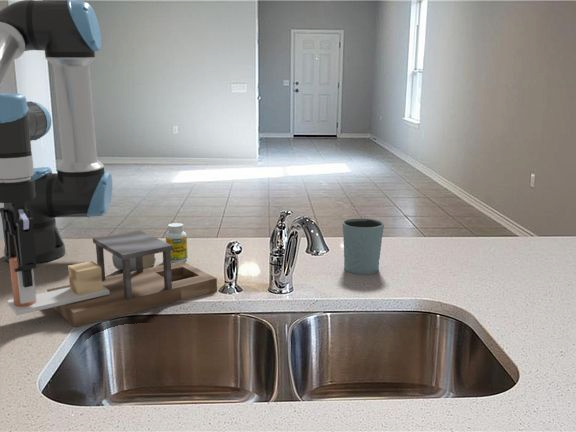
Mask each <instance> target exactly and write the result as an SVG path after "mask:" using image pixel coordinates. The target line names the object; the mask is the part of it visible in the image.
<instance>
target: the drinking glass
mask: <svg viewBox="0 0 576 432" xmlns="http://www.w3.org/2000/svg"><path fill="white" fill-rule="evenodd" d="M384 228H385V224H384V222H383V221H381V220H377V219H374V218H373V219H372V218H359V217H358V218H348V219H345V220H343V221H342V235H343V237H342V239H343V241H342V242H343V243H342V244H343V258H344V259H343V260H344V261H343V266H344V267H343V268H344V270H345V271H346V272H347V273H350V274H355V275H370V274H372V275H373V274H375V273H377V272H378V271H379V267H380V258H381V249H382V238H383V233H384Z"/></svg>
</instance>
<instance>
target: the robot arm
mask: <svg viewBox="0 0 576 432" xmlns="http://www.w3.org/2000/svg"><path fill="white" fill-rule="evenodd" d="M101 48H102V35H101V29H100V25H99V21H98V17H97V15H96V13H95V10H94V9H93V7H92V5H90V4H89V2H86V1H82V0H19V1H16V2H13V3H11V4H8V5H7V6H5V7H3V8H2V9H0V89H1V87H2V85H3V84H4V81H5V79H6V78H7V75H8V74H9V72H10V70H11V68H12V65H13V64H14V61H15V60H17V59H19V58H20V57H22V56H23V54H24V52H28V51H44V56H45V57H44V58H45V60H46V61H48V62H49V63H50V64H51V65H52V70H53V80H54V89H55V100H56V110H57V118H58V120H57V121H58V127H59V128H58V129H59V138H60V141H59V142H60V149H61V160H62V161H61V162H60V163H59V164H58V165H57V167H56V173H55V172H53V171H52V169H51V167H49V166H46V167H45V166H42V167H34V161H33V152H32V141H38V140H39V139H41V138H43V137H44V136H46V135H47V134H48V133H49V131H50V130H51V126H52V116H51V114H50V112H49V110H48V109H47V108H46V107H45V106H44V105H43V104H41V103H39V102H35V101H27V98H26V96H25V95H24V94H21V93H0V204H3V206H2V207H0V216H1V224H2V231H3V238H4V239H3V240H4V247H3V257H4V260H5V261H6V262H8V263H9V259H10V258H12V257H16V256H17V262H18V268H16V269H14V270H15V272H17V277H18V286H19V295H20V303H21V304H23V303H28V302H32V301H36V294H37V293H35V292H36V284H35V283H36V282H35V275H34V273H33V272H34V269H36V268H37V263H44V262H48V261H52V260H57V259H59V258H61V257H63V256H65V254H66V245H65V242H64V240H63V238H62V235H61V234H60V231H59V229H58V227H57V223H56V221H57V220H56V218H88V219H89V218H92V217H93V218H95V217H102V216H104V215H106V214H107V212H108V211H109V208H110V206H111V200H112V194H113V178H112V174H111V173H109V172H108V171H105V166H104V164H103V163H102V162H101V161H100V160H98V152H97V141H96V139H97V138H96V130H95V129H96V128H95V117H94V106H93V105H94V104H93V94H92V93H93V92H92V82H91V80H92V79H91V71H90V70H91V67H90V65H91V64H92V63H93V62H94V60H95V59H96V54H95V53H96V52H99V51H100V50H101ZM34 282H35V283H34Z"/></svg>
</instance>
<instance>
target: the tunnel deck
mask: <svg viewBox="0 0 576 432" xmlns="http://www.w3.org/2000/svg"><path fill="white" fill-rule="evenodd" d="M92 243H93V244H95V253H96V264H97V265H99V266H100V267H101V272H102V285H103V286H104V287H105V288H107V289H108V290H109V291H110V294H108V295H104V296H99V297H95V298H91V299H86V300H82V301H78V302H73V303H69V304H65V305H60V306H56V307H52V308H53V309H54V310H56V311H57V313H59V314H60V315H61V316H62V317H63V318H64V319H65V320H67V322H68V323H69V324H70V325H72V326H73V327H74V328H78V327H82V326H86V325H89V324H93V323H97V322H100V321H104V320H109V319H112V318H116V317H121V316H123V315H124V316H125V315H129V314H133V313H135V312H139V311H144V310H148V309H152V308H156V307H159V306H163V305H167V304H171V303H175V302H179V301H182V300H186V299H190V298H194V297H195V298H196V297H198V296H202V295H205V294H209V293H215V292H217V291H218V278H217V277H215V276H213V275H211V274H209V273H207V272H205V271H203V270H201V269H198V268H197V267H195V266H193V265H191V264H189V263H187V262H186V261H184V262H183V261H180V262H175V263H172V262H171V256H170V251H171V250H173V245H171V244H168V243H166V241H164V240H162V239H160V238H158V237H155V236H153V235H151V234H149V233H147V232H144V231H142V230H133V231H132V230H131V231H126V232H121V233H115V234H111V235H110V234H109V235H103V236H98V237H93V238H92ZM104 250H105V251H106V252H109V253H110V254H112V255H113V254H114V255H116V256H117V257H119V258H121V259H122V267H123V270H122V273H119V274H115V275H110V276H106V272H105V271H106V270H105V256H104ZM160 253H162V262H163V263H162V264H161V265H156V266H152V267H151V268H147V269H143V260H142V256H145V255H151V254H160ZM135 257H136V271H130V258H135ZM68 287H70V284H66V285H61V286H59V287H53V288H47V291H46V292H49V291H54V290H59V289H63V288H68Z"/></svg>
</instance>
